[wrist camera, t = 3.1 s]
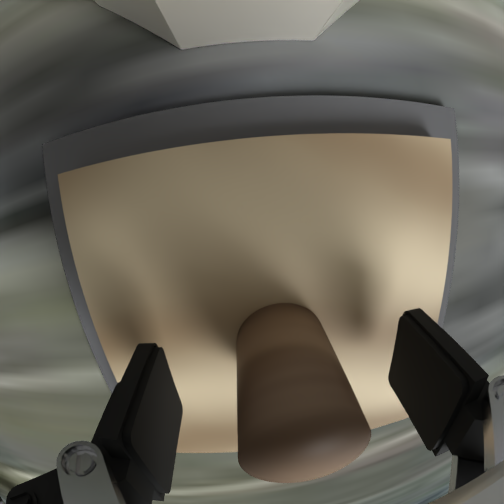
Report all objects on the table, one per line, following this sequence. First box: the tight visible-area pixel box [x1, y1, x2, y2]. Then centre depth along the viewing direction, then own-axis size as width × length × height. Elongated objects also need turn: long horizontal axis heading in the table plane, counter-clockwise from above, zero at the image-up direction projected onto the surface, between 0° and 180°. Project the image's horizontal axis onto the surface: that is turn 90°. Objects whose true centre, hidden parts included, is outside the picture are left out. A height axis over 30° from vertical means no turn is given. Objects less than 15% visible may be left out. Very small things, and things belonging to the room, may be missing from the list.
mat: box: [42, 95, 459, 393], centre depth 12 cm, size 17×17×1 cm
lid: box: [58, 133, 452, 483], centre depth 9 cm, size 14×14×6 cm
